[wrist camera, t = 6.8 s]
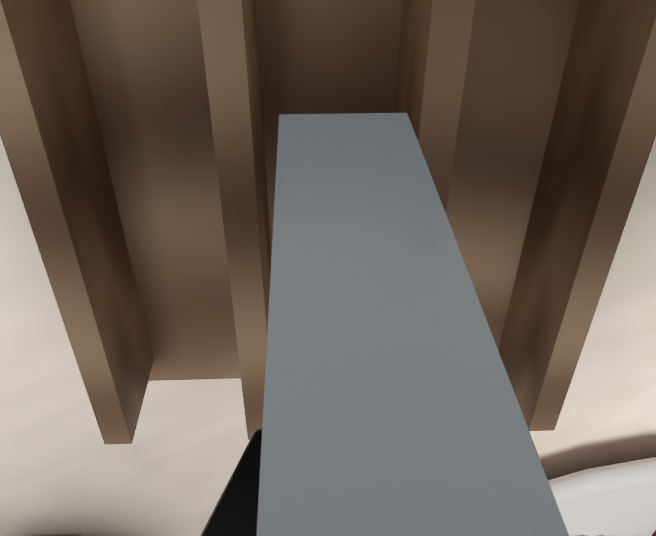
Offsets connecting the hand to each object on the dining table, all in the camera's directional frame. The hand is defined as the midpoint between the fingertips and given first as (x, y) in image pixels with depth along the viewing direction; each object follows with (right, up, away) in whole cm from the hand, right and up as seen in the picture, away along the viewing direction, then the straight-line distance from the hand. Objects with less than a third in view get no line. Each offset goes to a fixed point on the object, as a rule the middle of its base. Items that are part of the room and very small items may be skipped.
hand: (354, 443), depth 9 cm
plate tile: (0, +2, +3) cm, 4 cm away
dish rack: (0, +7, +9) cm, 11 cm away
